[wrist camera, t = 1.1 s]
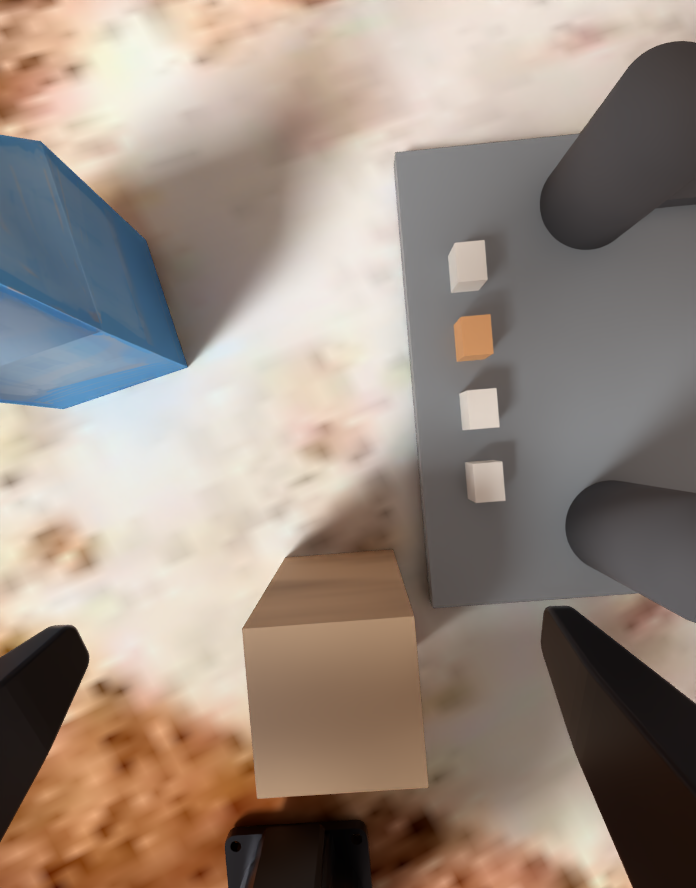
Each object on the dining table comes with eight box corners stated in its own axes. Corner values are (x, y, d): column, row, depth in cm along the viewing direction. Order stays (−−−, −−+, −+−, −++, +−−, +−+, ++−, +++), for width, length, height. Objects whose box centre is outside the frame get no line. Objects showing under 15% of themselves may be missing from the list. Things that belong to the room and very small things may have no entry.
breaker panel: (785, 574, 18) (839, 591, 16) (429, 601, 18) (438, 620, 16) (752, 128, 18) (802, 89, 16) (393, 165, 18) (398, 131, 16)
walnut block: (401, 656, 19) (428, 787, 12) (294, 663, 19) (257, 798, 12) (392, 549, 19) (414, 616, 12) (285, 557, 19) (242, 628, 12)
